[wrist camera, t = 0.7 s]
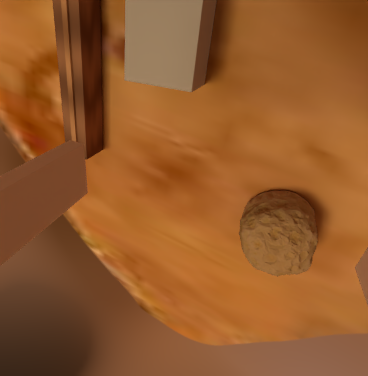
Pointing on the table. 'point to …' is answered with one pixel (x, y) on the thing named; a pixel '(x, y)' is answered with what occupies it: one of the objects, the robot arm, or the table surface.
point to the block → (168, 42)
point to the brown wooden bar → (80, 71)
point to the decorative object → (279, 233)
